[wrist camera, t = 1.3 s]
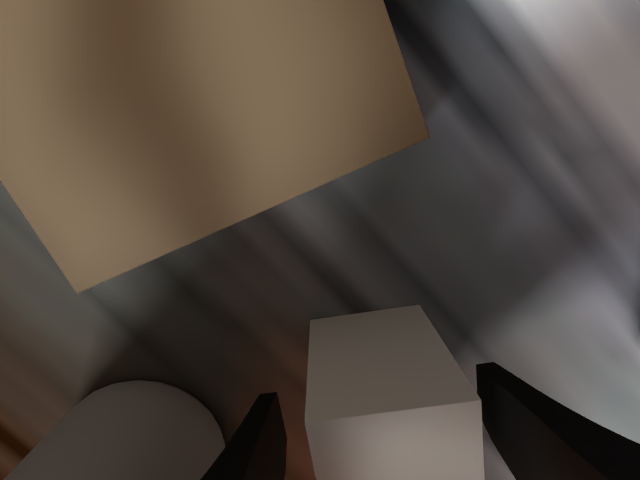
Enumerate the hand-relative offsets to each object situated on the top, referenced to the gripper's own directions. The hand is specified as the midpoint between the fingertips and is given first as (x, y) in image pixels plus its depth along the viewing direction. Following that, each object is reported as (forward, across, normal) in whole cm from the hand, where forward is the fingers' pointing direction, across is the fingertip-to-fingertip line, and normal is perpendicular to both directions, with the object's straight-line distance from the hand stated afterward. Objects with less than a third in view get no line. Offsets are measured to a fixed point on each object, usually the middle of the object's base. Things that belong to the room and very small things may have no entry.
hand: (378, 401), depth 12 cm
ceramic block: (+2, 0, 0) cm, 3 cm away
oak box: (+3, +5, -13) cm, 14 cm away
